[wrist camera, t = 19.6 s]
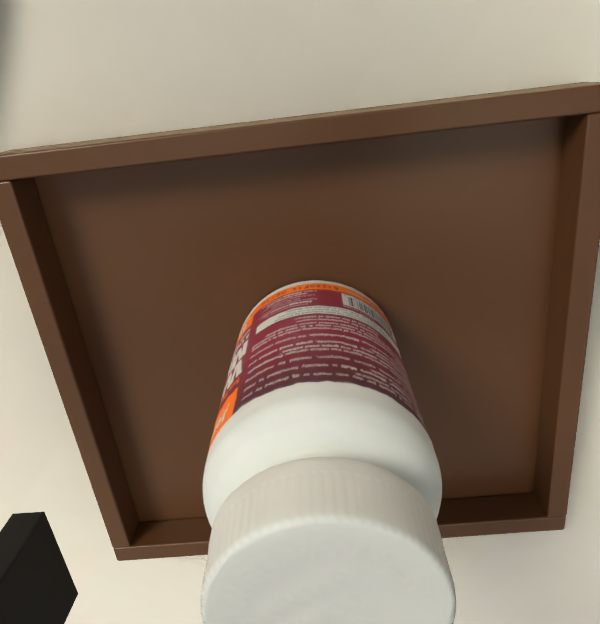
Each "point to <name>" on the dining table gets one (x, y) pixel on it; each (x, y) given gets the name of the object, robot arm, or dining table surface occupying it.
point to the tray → (325, 267)
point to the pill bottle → (322, 473)
